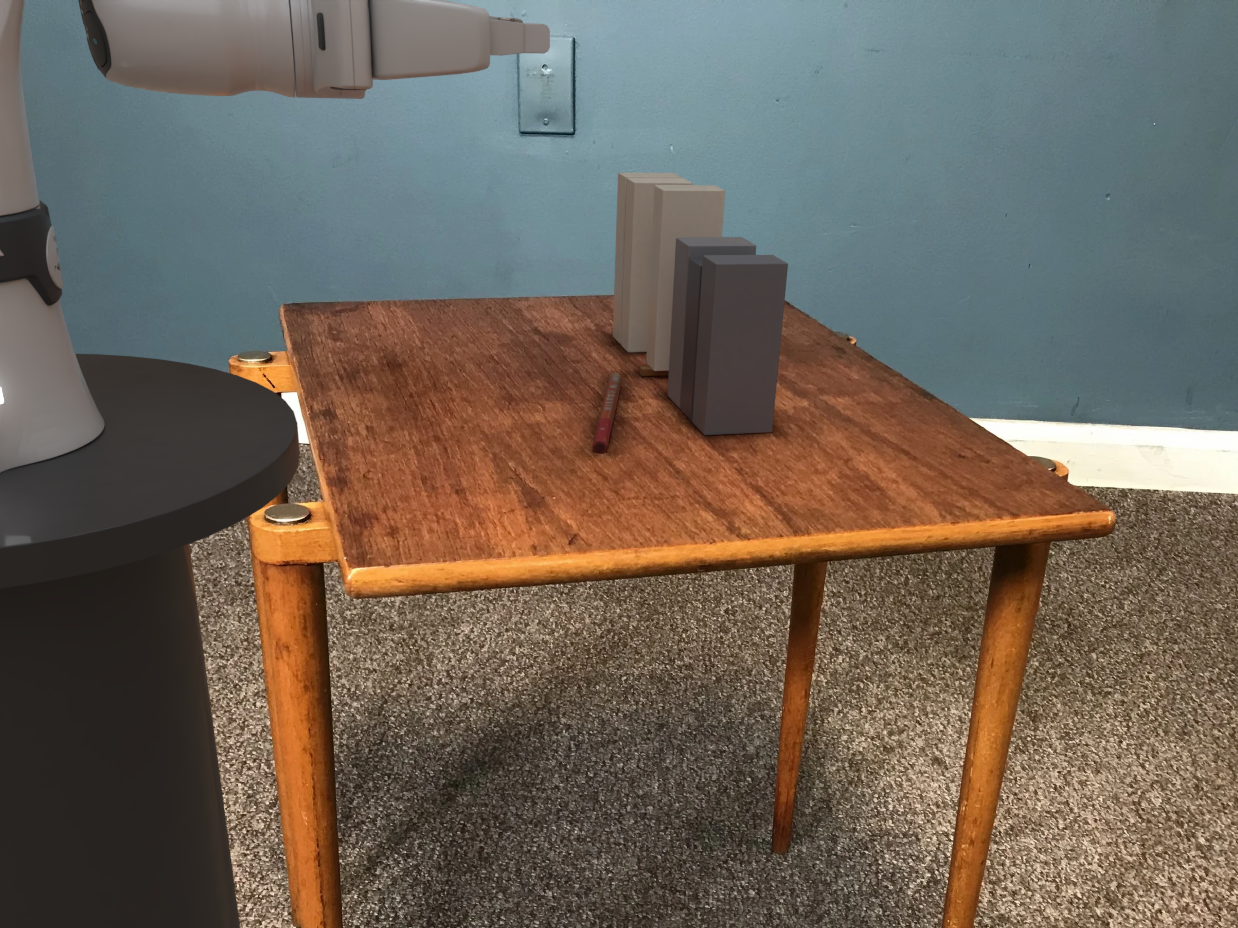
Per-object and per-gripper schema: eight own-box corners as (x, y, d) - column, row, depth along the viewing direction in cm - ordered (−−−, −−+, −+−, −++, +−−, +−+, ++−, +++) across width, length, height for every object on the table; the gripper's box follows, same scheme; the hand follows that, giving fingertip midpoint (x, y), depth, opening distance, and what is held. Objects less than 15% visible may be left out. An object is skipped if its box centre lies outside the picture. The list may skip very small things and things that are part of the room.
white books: (641, 376, 104) (649, 196, 97) (604, 336, 114) (609, 172, 108) (715, 373, 105) (728, 196, 99) (673, 335, 116) (682, 172, 109)
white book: (654, 371, 103) (662, 189, 96) (646, 362, 105) (654, 184, 98) (712, 369, 104) (725, 190, 98) (703, 361, 106) (715, 185, 100)
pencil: (607, 455, 87) (607, 441, 86) (591, 454, 87) (592, 440, 86) (623, 377, 104) (623, 366, 103) (610, 377, 104) (610, 365, 103)
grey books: (704, 435, 91) (715, 264, 85) (667, 396, 99) (675, 237, 93) (772, 432, 92) (788, 263, 87) (730, 393, 100) (742, 236, 95)
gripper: (330, 68, 97) (510, 72, 100) (346, 91, 80) (563, 96, 83) (324, -26, 94) (509, -18, 97) (339, -23, 77) (564, -13, 80)
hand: (534, 35), depth 90 cm, fingers open, 8 cm apart
